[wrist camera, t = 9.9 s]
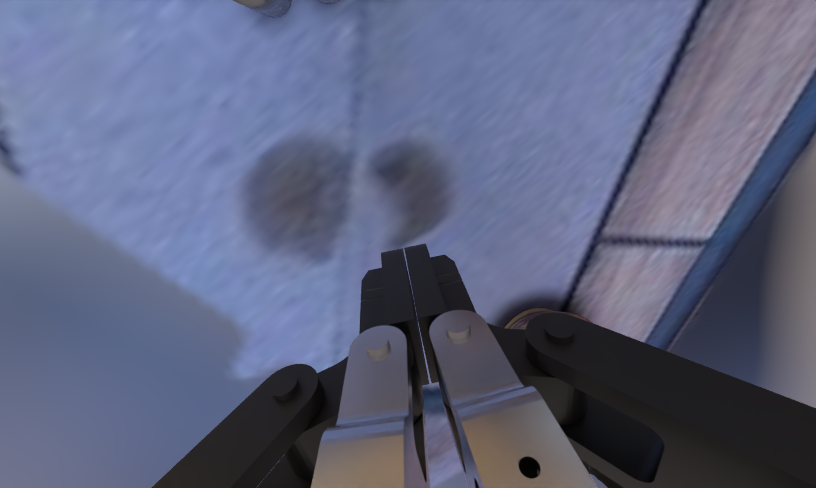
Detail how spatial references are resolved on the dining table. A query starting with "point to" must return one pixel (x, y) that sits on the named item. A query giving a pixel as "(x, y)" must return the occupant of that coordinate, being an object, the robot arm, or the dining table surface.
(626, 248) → the dining table surface
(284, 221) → the dining table surface
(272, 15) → the metal posts
